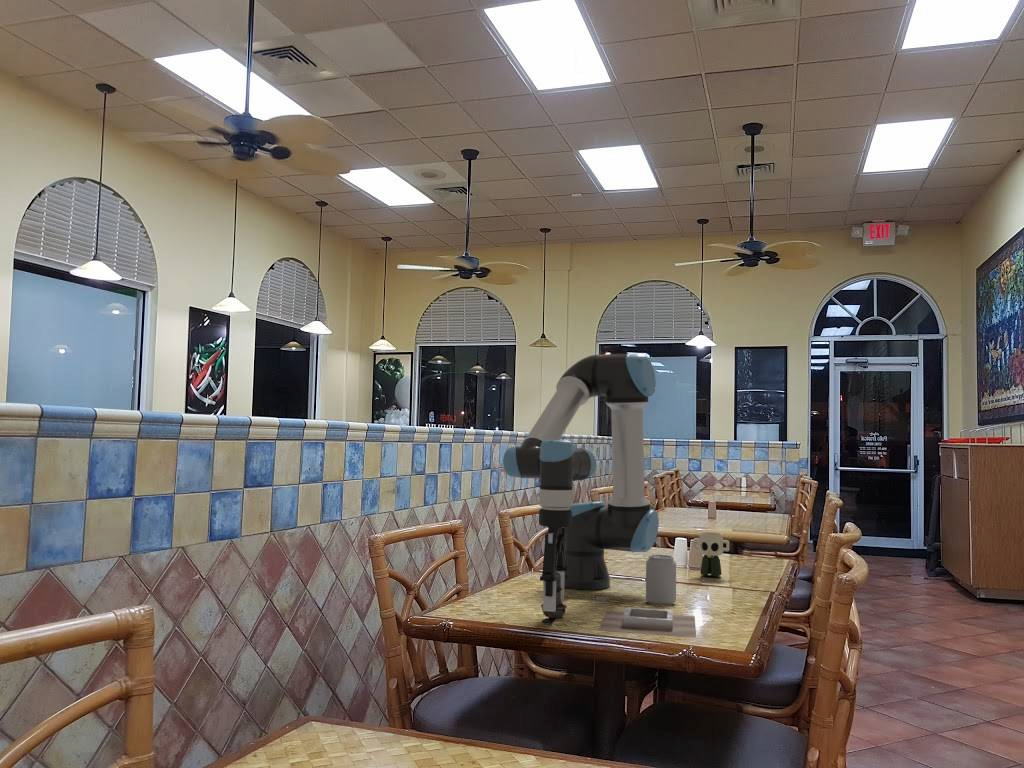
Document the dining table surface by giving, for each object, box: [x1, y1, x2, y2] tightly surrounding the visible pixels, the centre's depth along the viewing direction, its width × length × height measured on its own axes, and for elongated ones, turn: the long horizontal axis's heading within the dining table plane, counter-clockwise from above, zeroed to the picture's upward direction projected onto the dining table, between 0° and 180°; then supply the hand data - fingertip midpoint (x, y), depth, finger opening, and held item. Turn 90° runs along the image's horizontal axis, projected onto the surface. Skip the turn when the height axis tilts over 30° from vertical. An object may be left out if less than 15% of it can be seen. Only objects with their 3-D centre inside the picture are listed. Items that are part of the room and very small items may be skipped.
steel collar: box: [623, 606, 674, 630], centre depth 175 cm, size 10×10×2 cm
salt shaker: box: [540, 572, 568, 626], centre depth 179 cm, size 6×6×12 cm
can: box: [645, 554, 677, 607], centre depth 202 cm, size 8×8×12 cm
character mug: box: [692, 531, 730, 578], centre depth 244 cm, size 11×7×13 cm, turn 68°
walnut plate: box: [598, 610, 697, 638], centre depth 175 cm, size 20×20×1 cm
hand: (553, 605), depth 179 cm, fingers open, 12 cm apart
